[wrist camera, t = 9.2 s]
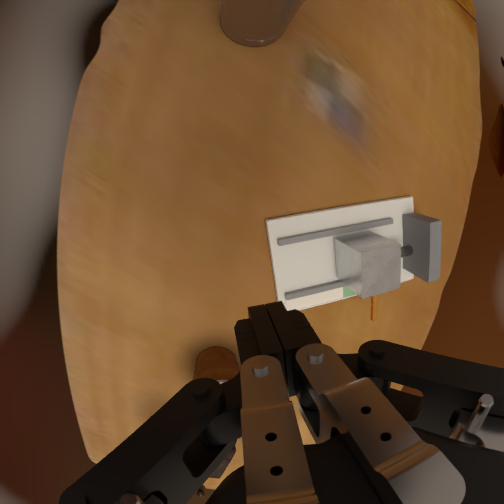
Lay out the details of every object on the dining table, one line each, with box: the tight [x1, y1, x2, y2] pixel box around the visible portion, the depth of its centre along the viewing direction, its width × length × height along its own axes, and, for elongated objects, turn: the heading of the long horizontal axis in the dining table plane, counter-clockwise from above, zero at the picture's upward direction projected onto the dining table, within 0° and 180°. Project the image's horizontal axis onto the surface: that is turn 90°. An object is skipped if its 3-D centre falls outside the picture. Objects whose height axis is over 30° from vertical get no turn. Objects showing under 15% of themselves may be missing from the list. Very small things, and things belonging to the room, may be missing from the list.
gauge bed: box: [265, 196, 442, 311], centre depth 40 cm, size 14×24×8 cm, turn 99°
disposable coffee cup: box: [193, 347, 240, 384], centre depth 40 cm, size 10×10×12 cm
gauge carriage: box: [334, 231, 413, 321], centre depth 40 cm, size 11×11×8 cm
